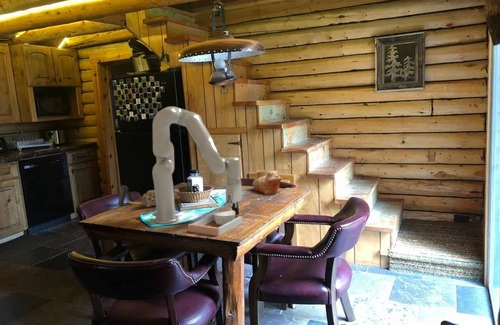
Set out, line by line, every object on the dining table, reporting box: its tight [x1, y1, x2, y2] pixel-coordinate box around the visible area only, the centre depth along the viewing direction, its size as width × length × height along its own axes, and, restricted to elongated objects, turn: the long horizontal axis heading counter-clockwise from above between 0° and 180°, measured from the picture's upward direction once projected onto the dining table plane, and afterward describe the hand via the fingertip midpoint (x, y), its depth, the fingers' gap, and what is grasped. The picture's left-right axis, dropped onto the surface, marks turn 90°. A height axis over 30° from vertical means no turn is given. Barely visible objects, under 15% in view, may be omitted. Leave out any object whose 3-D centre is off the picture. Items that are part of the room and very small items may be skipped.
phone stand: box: [117, 184, 135, 208], centre depth 248 cm, size 9×6×12 cm, turn 123°
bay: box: [187, 213, 243, 237], centre depth 196 cm, size 17×22×4 cm
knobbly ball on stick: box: [126, 189, 156, 208], centre depth 238 cm, size 22×10×10 cm, turn 130°
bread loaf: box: [252, 169, 283, 196], centre depth 267 cm, size 14×26×15 cm, turn 29°
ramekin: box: [213, 209, 236, 226], centre depth 203 cm, size 11×11×5 cm
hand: (235, 214), depth 212 cm, fingers closed
